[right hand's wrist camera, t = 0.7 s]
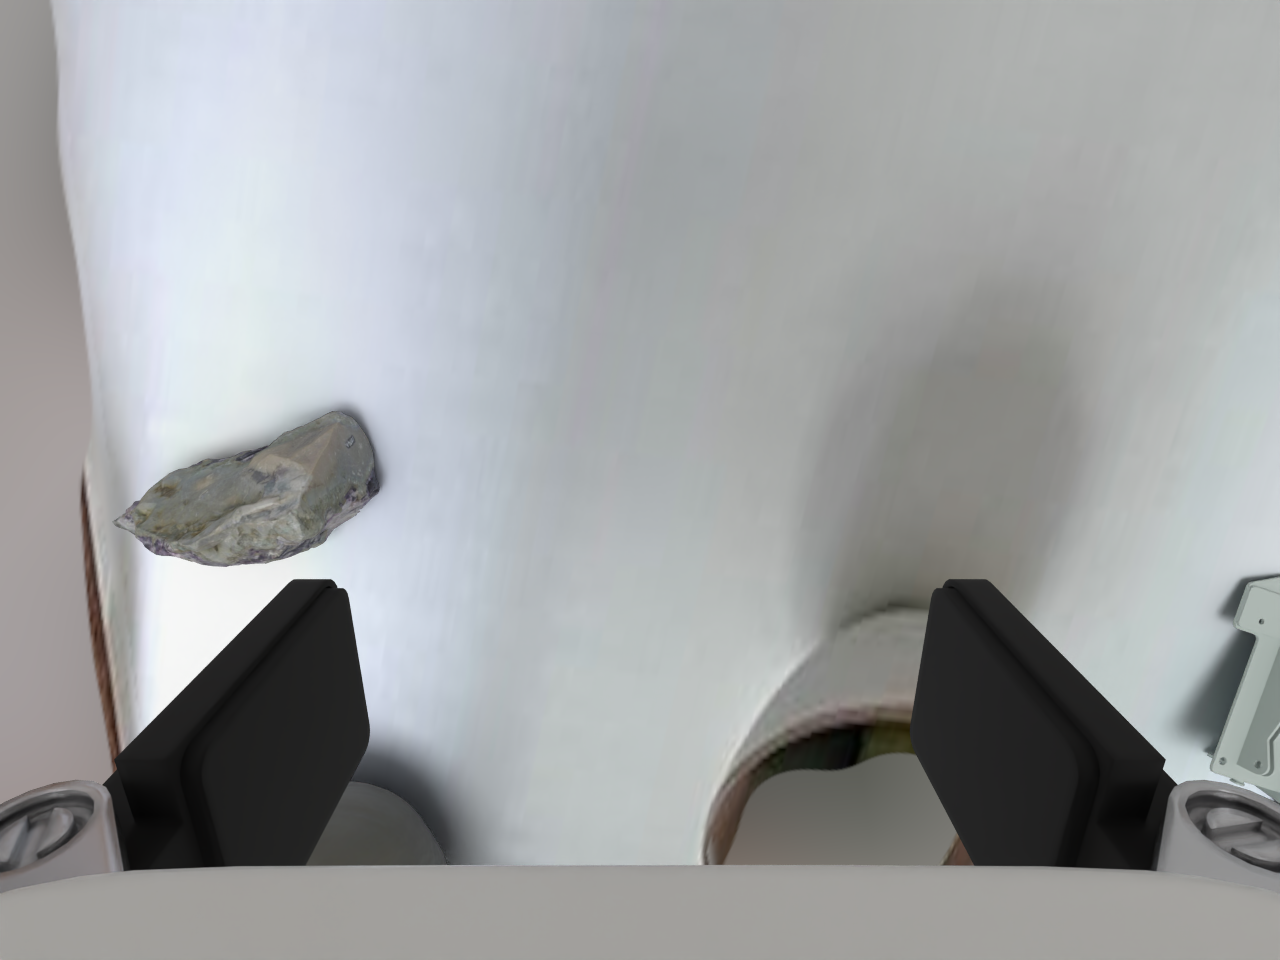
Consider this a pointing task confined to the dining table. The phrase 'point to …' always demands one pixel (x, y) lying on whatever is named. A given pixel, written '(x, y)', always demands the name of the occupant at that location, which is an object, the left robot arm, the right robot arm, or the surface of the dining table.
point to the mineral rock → (260, 498)
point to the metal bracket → (1255, 697)
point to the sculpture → (375, 832)
